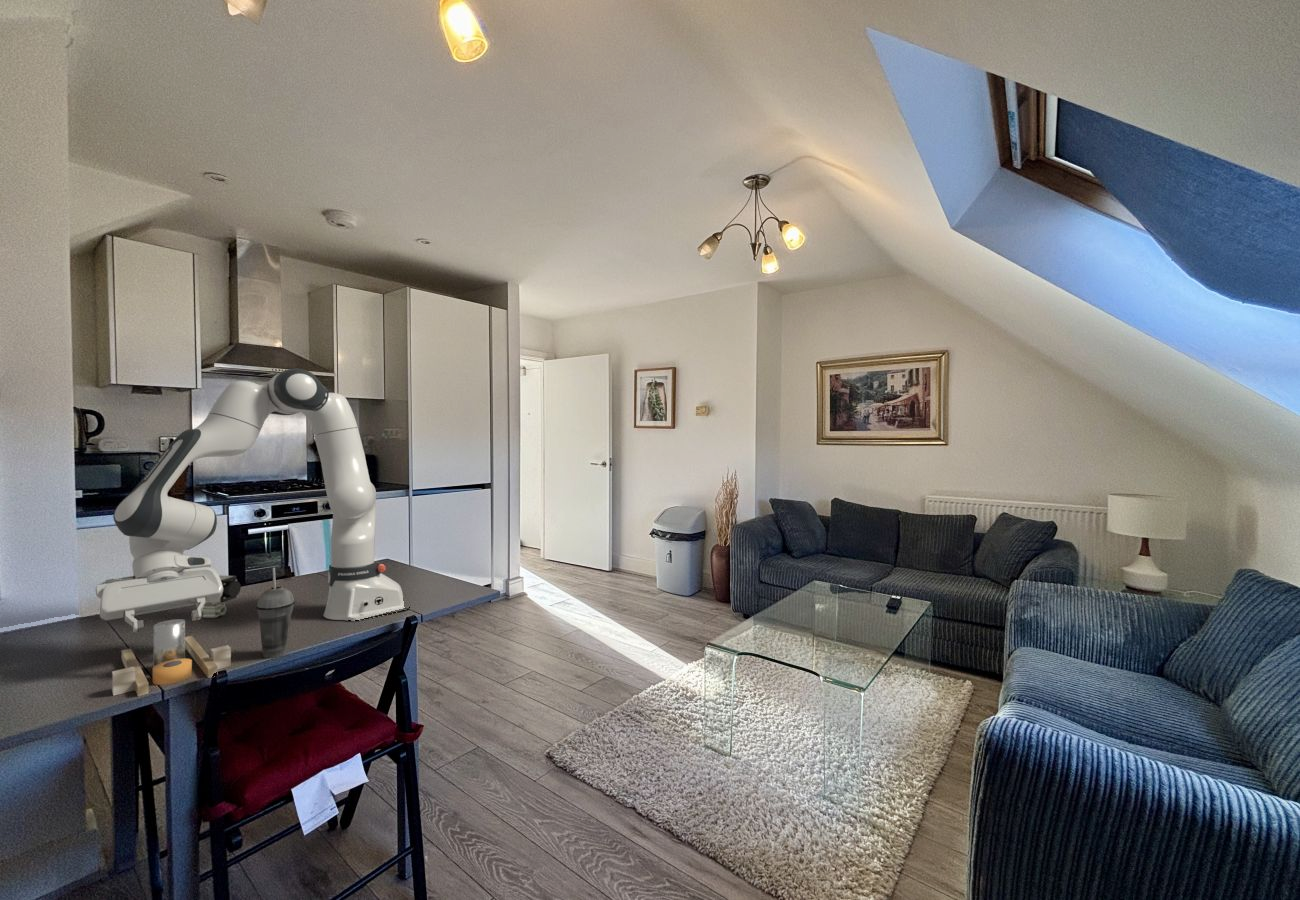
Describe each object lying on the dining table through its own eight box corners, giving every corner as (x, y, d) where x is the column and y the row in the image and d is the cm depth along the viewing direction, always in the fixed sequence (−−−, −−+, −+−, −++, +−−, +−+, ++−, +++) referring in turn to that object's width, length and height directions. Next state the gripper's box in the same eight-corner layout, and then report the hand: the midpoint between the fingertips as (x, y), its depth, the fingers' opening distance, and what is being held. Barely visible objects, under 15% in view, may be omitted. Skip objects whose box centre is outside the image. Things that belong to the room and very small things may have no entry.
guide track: (207, 640, 128) (207, 624, 128) (235, 670, 112) (235, 652, 112) (102, 663, 115) (102, 645, 115) (115, 702, 98) (115, 681, 98)
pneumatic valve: (227, 619, 143) (227, 576, 143) (185, 618, 144) (186, 575, 144) (243, 613, 149) (243, 571, 149) (203, 612, 149) (203, 570, 149)
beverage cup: (264, 663, 116) (265, 573, 116) (249, 655, 120) (250, 569, 120) (300, 652, 122) (301, 567, 122) (285, 645, 126) (286, 563, 126)
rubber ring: (194, 670, 112) (194, 655, 112) (188, 681, 107) (188, 665, 107) (156, 676, 109) (156, 661, 109) (148, 687, 104) (148, 672, 104)
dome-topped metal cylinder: (186, 662, 116) (186, 617, 116) (183, 670, 112) (183, 624, 112) (156, 667, 113) (156, 622, 113) (151, 676, 109) (151, 628, 109)
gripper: (95, 573, 111) (101, 629, 105) (218, 556, 126) (229, 605, 120) (94, 590, 113) (99, 646, 107) (214, 572, 129) (224, 620, 123)
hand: (168, 624), depth 114 cm, fingers open, 8 cm apart
